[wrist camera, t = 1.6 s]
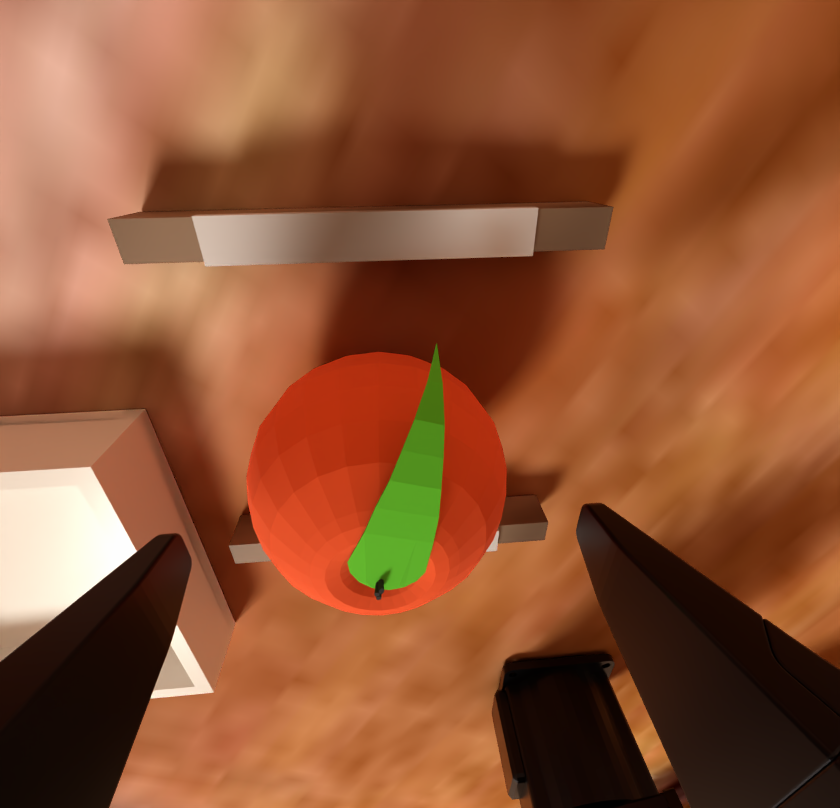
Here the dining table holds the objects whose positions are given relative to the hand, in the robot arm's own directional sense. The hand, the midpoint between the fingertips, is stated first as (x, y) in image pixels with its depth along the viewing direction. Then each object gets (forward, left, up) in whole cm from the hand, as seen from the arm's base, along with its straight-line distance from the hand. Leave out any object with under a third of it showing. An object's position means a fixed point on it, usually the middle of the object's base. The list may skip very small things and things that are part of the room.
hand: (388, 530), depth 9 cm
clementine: (0, 0, -6) cm, 6 cm away
